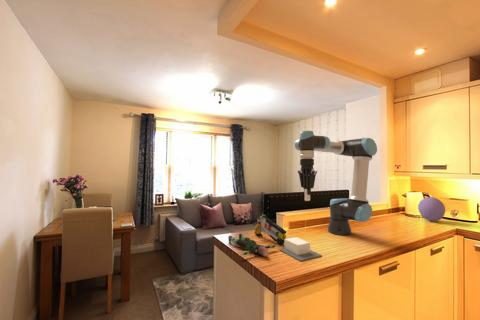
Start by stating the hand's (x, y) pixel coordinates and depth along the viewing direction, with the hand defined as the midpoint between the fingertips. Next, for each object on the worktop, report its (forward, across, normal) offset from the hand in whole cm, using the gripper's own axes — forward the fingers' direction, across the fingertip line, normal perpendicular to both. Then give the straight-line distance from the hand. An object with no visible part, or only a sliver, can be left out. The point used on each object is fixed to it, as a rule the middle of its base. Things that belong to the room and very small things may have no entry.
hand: (307, 200), depth 127 cm
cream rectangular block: (+23, +6, -9) cm, 26 cm away
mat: (+26, +4, -9) cm, 28 cm away
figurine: (+27, -14, -30) cm, 42 cm away
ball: (+27, -1, +136) cm, 139 cm away
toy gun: (+27, -23, -11) cm, 37 cm away
